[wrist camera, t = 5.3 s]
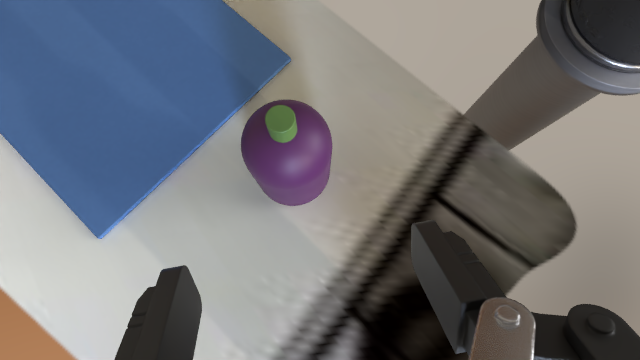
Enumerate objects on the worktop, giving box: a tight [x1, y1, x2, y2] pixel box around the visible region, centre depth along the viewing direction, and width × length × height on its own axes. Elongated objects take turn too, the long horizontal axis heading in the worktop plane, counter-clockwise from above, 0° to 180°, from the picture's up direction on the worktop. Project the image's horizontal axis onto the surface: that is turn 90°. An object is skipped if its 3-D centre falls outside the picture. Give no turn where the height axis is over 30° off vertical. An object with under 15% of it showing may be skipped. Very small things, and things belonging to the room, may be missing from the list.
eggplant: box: [241, 100, 332, 206], centre depth 20 cm, size 5×5×9 cm
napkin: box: [0, 0, 291, 239], centre depth 27 cm, size 20×18×1 cm
